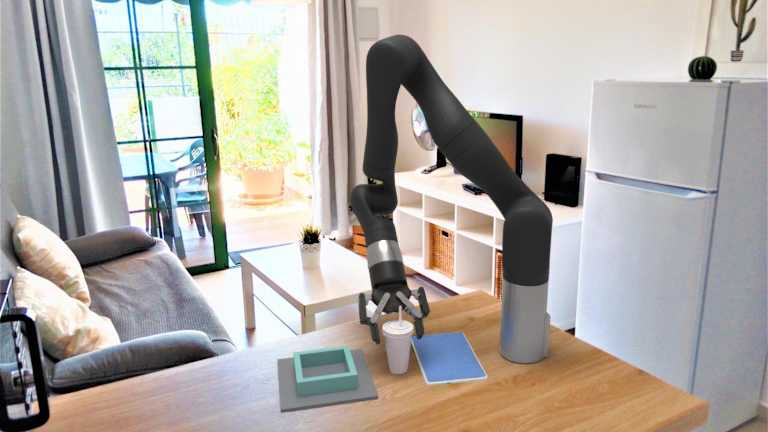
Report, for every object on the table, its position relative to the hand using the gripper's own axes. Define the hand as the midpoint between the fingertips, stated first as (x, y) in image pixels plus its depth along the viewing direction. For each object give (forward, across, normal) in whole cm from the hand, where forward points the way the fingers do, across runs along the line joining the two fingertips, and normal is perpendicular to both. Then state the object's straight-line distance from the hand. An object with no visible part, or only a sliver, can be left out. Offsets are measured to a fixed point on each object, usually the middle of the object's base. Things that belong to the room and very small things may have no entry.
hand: (399, 340), depth 114 cm
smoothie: (+4, 0, +6) cm, 8 cm away
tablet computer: (+3, +11, +8) cm, 14 cm away
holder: (+4, -15, +6) cm, 17 cm away
